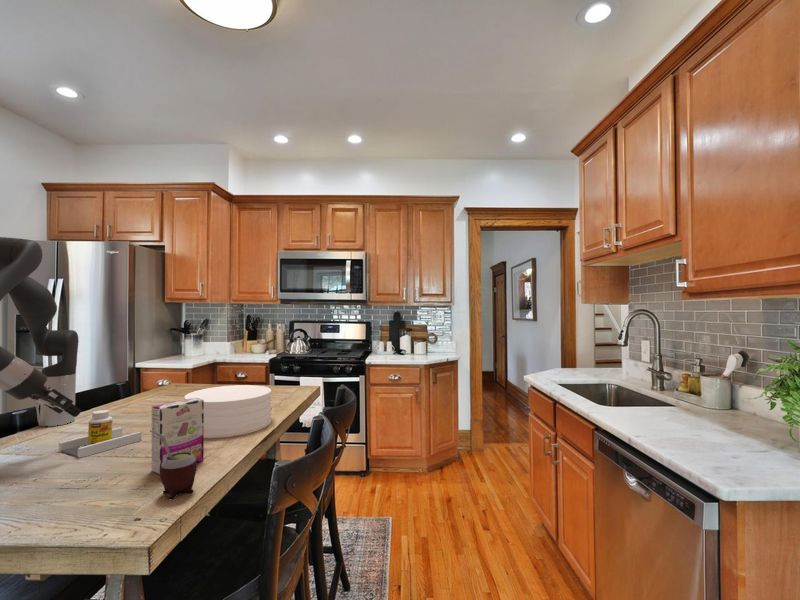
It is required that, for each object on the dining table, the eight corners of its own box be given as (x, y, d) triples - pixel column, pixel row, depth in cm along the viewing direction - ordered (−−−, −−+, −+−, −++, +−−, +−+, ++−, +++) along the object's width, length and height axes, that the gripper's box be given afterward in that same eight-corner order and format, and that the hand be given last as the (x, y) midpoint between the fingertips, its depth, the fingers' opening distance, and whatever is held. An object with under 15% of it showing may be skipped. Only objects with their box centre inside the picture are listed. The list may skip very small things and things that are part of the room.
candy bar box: (193, 457, 104) (194, 396, 105) (204, 460, 102) (205, 399, 102) (149, 471, 95) (150, 405, 95) (159, 476, 92) (161, 408, 93)
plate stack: (283, 415, 147) (283, 385, 147) (247, 439, 119) (247, 402, 119) (214, 413, 150) (215, 384, 150) (163, 436, 122) (164, 400, 122)
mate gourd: (202, 485, 87) (203, 419, 88) (183, 502, 79) (185, 430, 80) (169, 485, 87) (170, 419, 88) (147, 502, 79) (148, 430, 80)
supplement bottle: (86, 451, 109) (87, 415, 109) (89, 445, 114) (90, 410, 114) (111, 447, 112) (111, 412, 112) (112, 441, 117) (113, 408, 117)
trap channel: (79, 458, 103) (80, 448, 104) (58, 451, 108) (58, 442, 108) (141, 440, 118) (141, 432, 118) (120, 435, 123) (120, 427, 123)
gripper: (44, 367, 96) (95, 403, 106) (18, 364, 102) (69, 398, 112) (15, 392, 91) (72, 427, 101) (-11, 387, 97) (45, 421, 107)
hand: (70, 412), depth 106 cm, fingers open, 8 cm apart
